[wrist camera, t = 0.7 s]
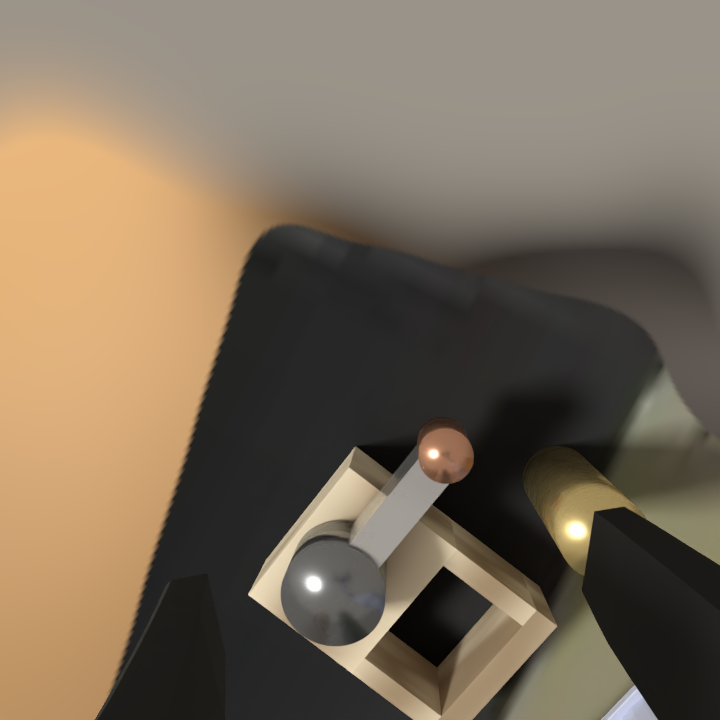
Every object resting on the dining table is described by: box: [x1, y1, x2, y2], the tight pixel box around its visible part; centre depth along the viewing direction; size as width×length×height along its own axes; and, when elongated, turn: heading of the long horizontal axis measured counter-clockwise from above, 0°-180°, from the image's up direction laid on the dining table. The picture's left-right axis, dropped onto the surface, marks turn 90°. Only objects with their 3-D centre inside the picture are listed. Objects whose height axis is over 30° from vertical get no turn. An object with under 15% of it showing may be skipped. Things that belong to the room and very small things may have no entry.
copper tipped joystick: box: [280, 417, 474, 646], centre depth 24 cm, size 4×11×3 cm, turn 143°
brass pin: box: [522, 446, 647, 576], centre depth 25 cm, size 3×3×7 cm
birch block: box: [248, 447, 557, 720], centre depth 28 cm, size 12×8×4 cm, turn 53°
